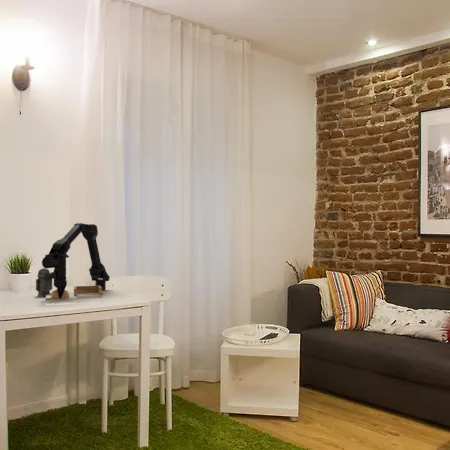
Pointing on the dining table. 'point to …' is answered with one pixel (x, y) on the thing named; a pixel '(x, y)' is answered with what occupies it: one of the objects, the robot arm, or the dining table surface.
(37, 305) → the dining table surface
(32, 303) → the dining table surface
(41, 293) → the toy
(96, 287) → the crate
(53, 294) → the yam
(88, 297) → the tailgate
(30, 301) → the dining table surface
